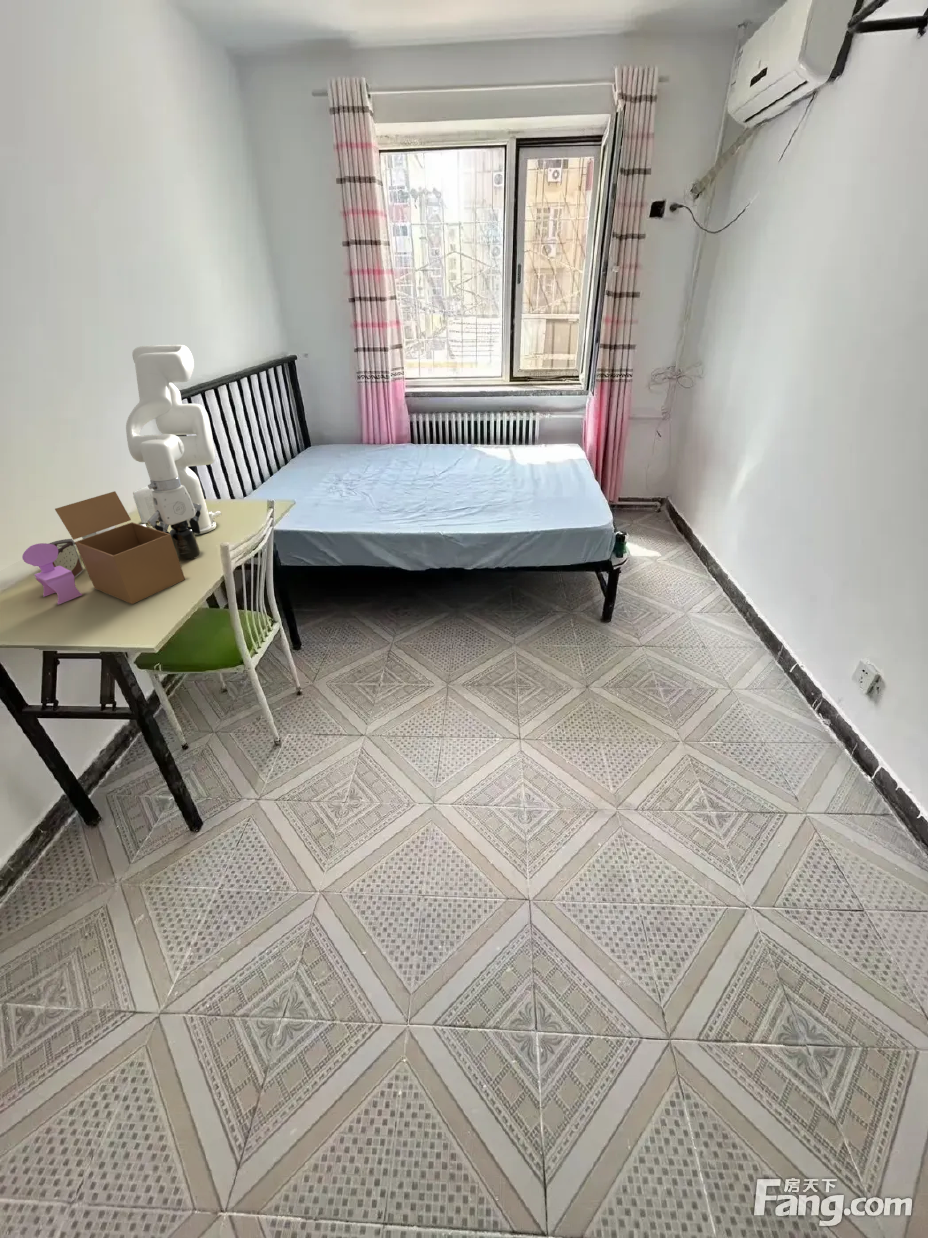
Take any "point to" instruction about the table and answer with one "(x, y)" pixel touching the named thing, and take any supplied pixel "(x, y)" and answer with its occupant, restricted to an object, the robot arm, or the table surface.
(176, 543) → the supplement bottle
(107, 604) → the table surface
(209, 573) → the table surface
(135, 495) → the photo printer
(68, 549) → the food container
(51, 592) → the toy chair
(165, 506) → the robot arm
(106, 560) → the carton
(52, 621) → the table surface
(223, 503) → the table surface
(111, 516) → the carton flap
